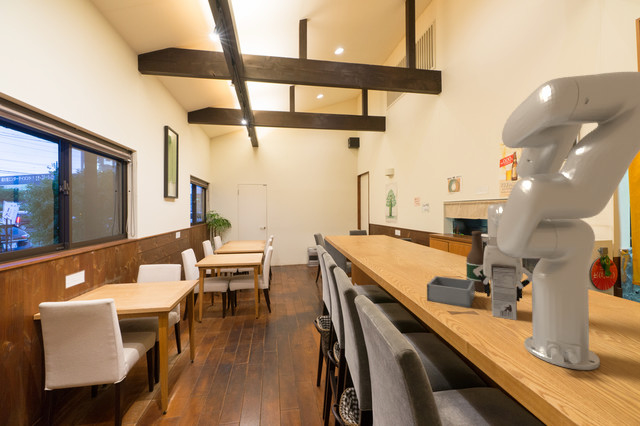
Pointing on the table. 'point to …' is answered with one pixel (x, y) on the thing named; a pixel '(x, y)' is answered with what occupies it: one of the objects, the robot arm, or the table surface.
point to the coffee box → (503, 291)
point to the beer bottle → (475, 261)
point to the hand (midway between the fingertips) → (502, 297)
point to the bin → (451, 291)
